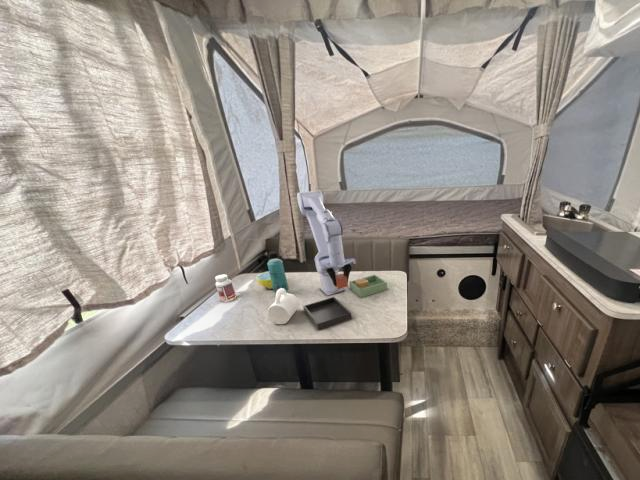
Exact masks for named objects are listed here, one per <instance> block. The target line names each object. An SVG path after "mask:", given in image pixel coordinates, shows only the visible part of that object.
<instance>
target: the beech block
mask: <svg viewBox="0 0 640 480" xmlns="http://www.w3.org/2000/svg"><path fill="white" fill-rule="evenodd" d="M362 278H363V279H361V278H358V279H359V280H357V279H355V280H356V281H355V282H356V286H357V287H358V288H360V289H364V288H367V287H369V282H368V281H367V280H366V279H365V277H362Z"/></svg>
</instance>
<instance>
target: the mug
mask: <svg viewBox="0 0 640 480" xmlns="http://www.w3.org/2000/svg"><path fill="white" fill-rule="evenodd" d="M281 294H282V295H281ZM274 300H275V301H274V302H273V303H272V304H271V305H270V306H269V307H268V309H267V310H266V311H267V313H266V314H267V317H268V318H269V320H270V321H271V322H272V323H274V324H277V325H285V324H287V323H288V322H289V321H290V319H291V318H292V317H293V315H294V314H295V313H296V311H297V310H298V309H299V307H300V302H299V299H298V297H297V296H296V295H294V294H292V293H289V292H286V290H285V289H284V288H280V289H278V290H277V292H276V294H275V298H274Z"/></svg>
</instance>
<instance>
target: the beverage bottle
mask: <svg viewBox="0 0 640 480" xmlns="http://www.w3.org/2000/svg"><path fill="white" fill-rule="evenodd" d="M279 257H280V256H279V253H278V251H270V252H268V253H267V258H268V261H267V263H266V265H267V268H268V271H269V273H270V277H271V281H272V285H273V286H272V287H273V289H272V290H273V293H274V294H275V295H276V292H277V290H278V289H280V288H284V289H285V290H286V292H287V293H289V292H290V291H289V289H290V287H289V283H288V280H287V275H286V271H285V268H284V262H283V260H282V259H279ZM281 295H282V294H281Z"/></svg>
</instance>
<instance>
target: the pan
mask: <svg viewBox="0 0 640 480" xmlns="http://www.w3.org/2000/svg"><path fill="white" fill-rule="evenodd" d="M302 307H303V312H304V313H305V314H306V316H307V317H308V318H309V319H310V321H311V322H312V323H313V325H314V326H315V327H316V329H317V330H318V331H320V330H323V329H326V328H329V327H332V326H335V325H337V324H341V323H344V322H346V321H349V320H352V312H351V311H350V310H349V309H348V308H346V307H345V306H344V305H343V304H342V303H341V302H340V301H339V300H338V299H337V298H336V297H335V296H332V297H329V298H325V299H321V300H319V301H315V302H312V303H308V304H306V305H302Z"/></svg>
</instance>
